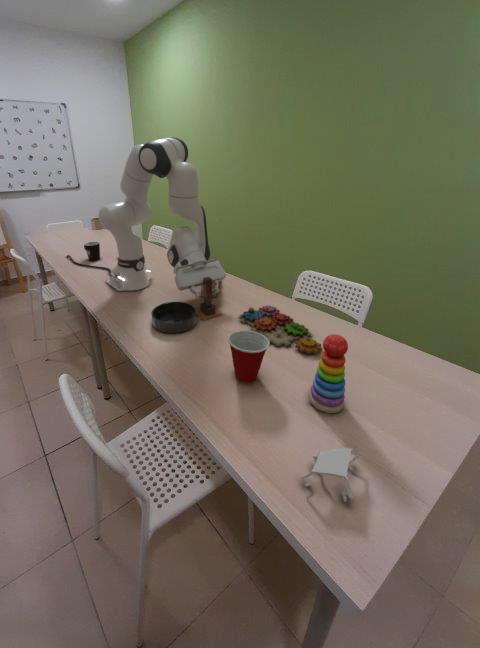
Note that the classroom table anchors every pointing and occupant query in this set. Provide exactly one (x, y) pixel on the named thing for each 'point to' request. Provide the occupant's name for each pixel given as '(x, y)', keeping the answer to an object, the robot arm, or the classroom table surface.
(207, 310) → the brown post with base
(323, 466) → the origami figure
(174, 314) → the pan
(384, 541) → the classroom table surface
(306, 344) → the gear puzzle
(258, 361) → the plastic cup
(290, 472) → the classroom table surface
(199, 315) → the plate
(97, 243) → the coffee mug
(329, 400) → the stacking toy
